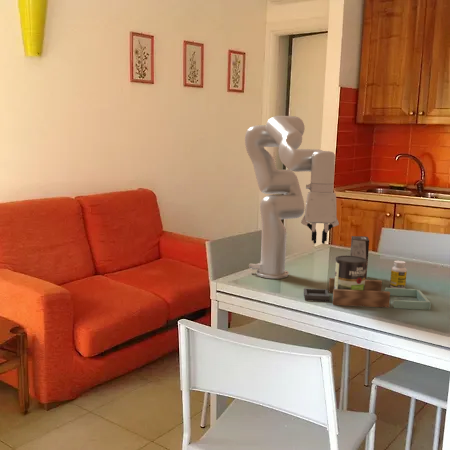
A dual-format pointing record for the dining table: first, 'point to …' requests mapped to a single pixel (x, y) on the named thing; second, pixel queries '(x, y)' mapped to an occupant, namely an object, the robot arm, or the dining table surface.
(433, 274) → the dining table surface
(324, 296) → the tray
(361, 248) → the coffee box
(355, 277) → the coffee can
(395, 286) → the supplement bottle
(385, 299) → the channel
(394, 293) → the dock
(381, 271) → the dining table surface
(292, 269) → the dining table surface
